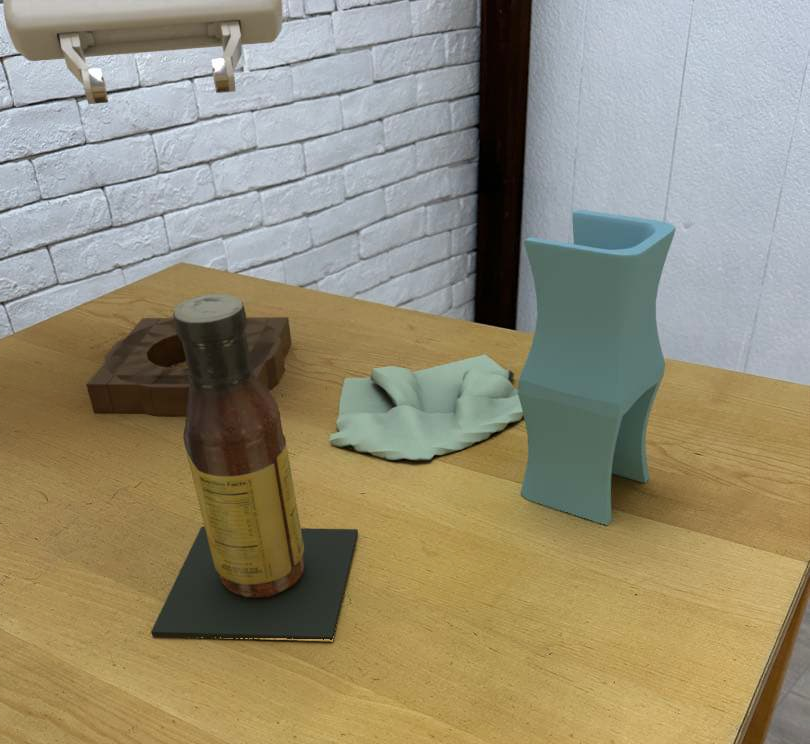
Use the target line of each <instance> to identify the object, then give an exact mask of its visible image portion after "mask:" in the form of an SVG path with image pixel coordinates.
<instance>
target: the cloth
mask: <svg viewBox="0 0 810 744" xmlns="http://www.w3.org/2000/svg"><path fill="white" fill-rule="evenodd" d="M514 378H515V372H513V371H512V370H510V369H505V368H503V367H502V366H501V365H499V364H498V363H497V362H496V361H494V360H493V359H492V358H491V357H490V356H488V355H487V354H482V355H478V356H472V357H469V358H464V359H461V360H457V361H453V362H448V363H444V364H440V365H436V366H433V367H428V368H424V369H420V370H415V371H411V370H410V369H409V368H407V367H399V366H391V365H389V366H387V365H386V366H381V367H374V368H372V369H371V374H370V377H345V378H344V381H343V385H342V389H341V392H340V393H341V395H340V399H339V406H338V416H337V419H336V423H335V424H336V427H337V429H338V432H334V433H331V434H330V438H329V442H330V443H331V445H332V446H334V447H337V448H340V449H341V448H343V449H350V450H352V451H354V452H358V453H361V454H366V453H368V454H370V455H371V456H373V457H377V458H380V459H383V460H385V461H398V460H402V459H404V460H405V459H406V460H410V461H414V462H426V461H427V462H428V461H429V462H430V461H431V460H432V459H433V457H434V456H444V455H448V454H450V453H454V452H457V451H461V450H464V449H466V448H469V447H471V446H473V445H474V444H475V443H477V442H478V443H479V442H482V441H485V440H487V439H488V438H490V436H491V435H493V434H495V433H496V432H497V433H499V432H502V431H504V430H505V429H507V427H508V426H509V425H511V424H514V423H516V422H520V421H521V420H522V419H524V415H523V411H522V407H521V403H520V400H519V396H518V388H517V389H516V388H515V386H514V385H513V384H512V382H511V381H513V379H514Z"/></svg>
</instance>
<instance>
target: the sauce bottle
mask: <svg viewBox="0 0 810 744" xmlns="http://www.w3.org/2000/svg"><path fill="white" fill-rule="evenodd" d="M246 317H247V314H246V310H245V305H244V303H243V301H242V300H241V299H240V298H238V297H237V296H235V295H231V294H224V293H223V294H222V293H213V294H205V295H202V296H197V297H192V298H189V299H186V300H184V301H181V303H179V304H178V305H177V306H176V307H175V309H174V311H173V312H172V318H174V323H175V329H176V333H177V335H178V337H179V338H180V339H181V341H182V344H183V348H184V352H185V357H186V360H185V361H186V365H187V368H188V377H189V380H190V385H189V395H188V405H187V414H186V416H185V424H184V429H183V437H182V438H183V444H184V449H185V452H186V457H187V462H188V466H189V469H190V473H191V477H192V480H193V485H194V488H195V492H196V496H197V501H198V504H199V509H200V513H201V517H202V522H203V527H205V530H206V534H207V538H208V542H209V546H210V550H211V554H212V558H213V562H214V566H215V569H216V570H217V572H218V573H219V575H220V578H221V580H222V583H223V584H224V585H225V586H226V587H227V588H228V590H229V591H231V592H233V593H235V594H237V595H240V596H244V597H253V598H262V597H270V596H272V595H275V594H277V593H280V592H282V591H284V590H285V589H288V588H290V587H291V586H293V585H294V584H295V583H297V581H298V580H299V579H300V577H301V576H302V573H303V568H304V555H303V552H304V543H303V538H302V533H301V528H302V527H301V521H300V515H299V510H298V503H297V498H296V492H295V491H296V490H295V488H294V486H295V485H294V481H293V475H292V474H293V473H292V470H291V469H292V468H291V462H290V457H289V451H288V445H287V440H286V439H287V438H286V436H285V435H284V432H283V426H282V420H281V411H280V409H279V406H278V403H277V402H276V400H275V398H274V397H273V395H272V393H271V392H270V390H269V389H268V387H266V386H265V385H264V384H263V383H262V382H261V381H260V380H259V379H258V378H257V377H255V376H254V374H253V362H252V360H251V359H250V354H249V347H248V344H247V338H246V333H245V330H246V325H247V318H246Z"/></svg>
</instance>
